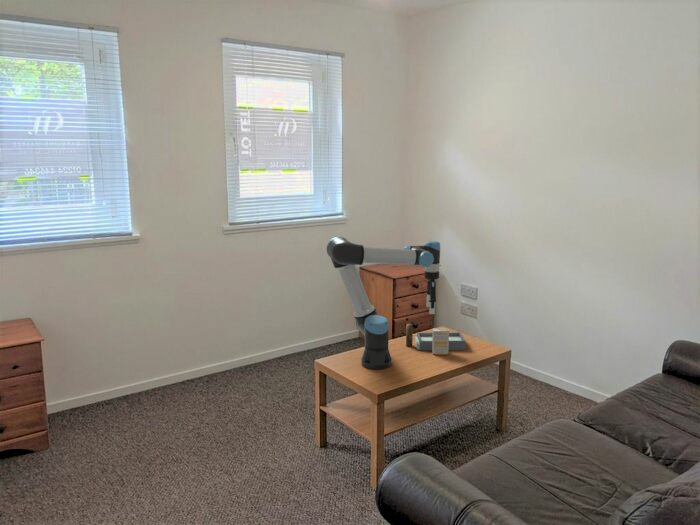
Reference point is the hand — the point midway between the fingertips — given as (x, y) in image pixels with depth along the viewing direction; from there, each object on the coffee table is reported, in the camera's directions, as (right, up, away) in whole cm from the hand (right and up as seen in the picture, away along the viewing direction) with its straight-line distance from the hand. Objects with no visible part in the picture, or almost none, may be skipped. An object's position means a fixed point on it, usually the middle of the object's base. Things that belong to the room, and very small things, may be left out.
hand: (430, 310), depth 290 cm
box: (+7, -20, +9) cm, 23 cm away
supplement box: (+5, -22, -3) cm, 23 cm away
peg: (-10, -20, +8) cm, 24 cm away
